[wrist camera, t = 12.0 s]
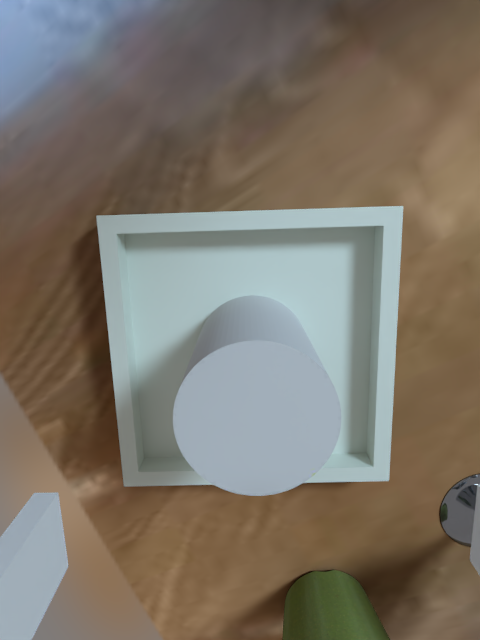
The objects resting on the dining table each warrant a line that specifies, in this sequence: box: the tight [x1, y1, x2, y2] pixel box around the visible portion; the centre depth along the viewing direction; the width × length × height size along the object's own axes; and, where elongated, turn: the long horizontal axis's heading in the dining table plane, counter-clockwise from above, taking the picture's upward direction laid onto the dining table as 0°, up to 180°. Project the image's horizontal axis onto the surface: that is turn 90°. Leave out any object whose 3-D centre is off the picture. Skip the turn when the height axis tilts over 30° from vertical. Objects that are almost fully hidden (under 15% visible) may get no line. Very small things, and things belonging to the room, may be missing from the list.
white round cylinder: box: [173, 295, 341, 496], centre depth 27 cm, size 8×8×12 cm
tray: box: [96, 206, 403, 487], centre depth 33 cm, size 20×20×3 cm
